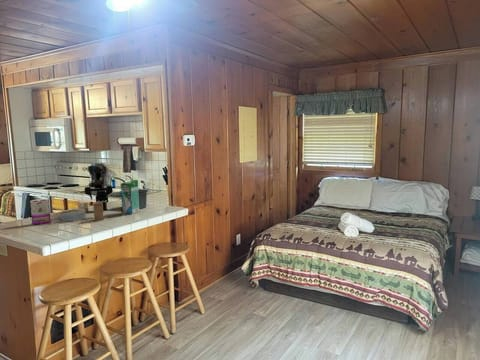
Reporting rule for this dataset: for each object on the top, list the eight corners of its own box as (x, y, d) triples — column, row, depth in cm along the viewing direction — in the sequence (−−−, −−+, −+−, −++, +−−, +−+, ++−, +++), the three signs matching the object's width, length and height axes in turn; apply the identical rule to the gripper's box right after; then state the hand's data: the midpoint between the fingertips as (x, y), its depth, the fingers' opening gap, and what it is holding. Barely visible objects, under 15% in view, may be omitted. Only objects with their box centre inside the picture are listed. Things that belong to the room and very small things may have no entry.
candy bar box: (51, 221, 245) (49, 198, 243) (50, 223, 241) (48, 199, 239) (32, 223, 240) (30, 199, 238) (31, 225, 236) (29, 201, 234)
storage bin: (119, 208, 288) (117, 191, 286) (131, 204, 302) (130, 188, 300) (140, 210, 280) (139, 192, 278) (152, 206, 294) (151, 189, 292)
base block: (73, 217, 259) (72, 211, 258) (85, 218, 256) (85, 212, 255) (61, 221, 248) (61, 214, 248) (74, 221, 245) (74, 215, 245)
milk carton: (122, 213, 268) (120, 180, 265) (130, 211, 276) (128, 179, 273) (132, 214, 264) (130, 181, 261) (139, 211, 273) (137, 179, 270)
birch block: (84, 211, 277) (83, 201, 276) (88, 212, 275) (87, 202, 274) (78, 213, 273) (77, 202, 272) (82, 213, 271) (82, 203, 270)
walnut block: (95, 219, 250) (94, 202, 249) (103, 218, 252) (102, 202, 250) (94, 221, 245) (93, 204, 243) (103, 220, 246) (101, 203, 245)
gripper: (83, 176, 254) (83, 193, 245) (111, 174, 260) (111, 191, 251) (85, 185, 263) (85, 202, 254) (112, 184, 268) (112, 200, 259)
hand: (98, 199), depth 254 cm, fingers open, 9 cm apart
